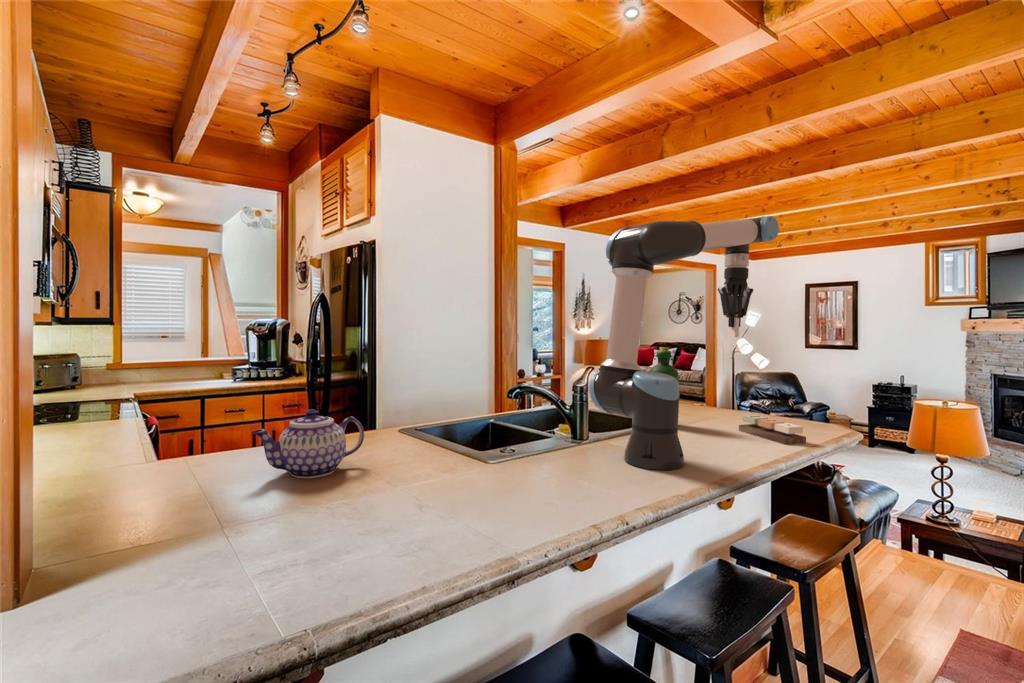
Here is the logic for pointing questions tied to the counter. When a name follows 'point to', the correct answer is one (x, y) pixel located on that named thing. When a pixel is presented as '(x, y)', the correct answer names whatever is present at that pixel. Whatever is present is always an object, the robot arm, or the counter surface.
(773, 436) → the button board
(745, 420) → the sage tile
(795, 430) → the cream tile
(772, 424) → the terracotta tile
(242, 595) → the counter surface
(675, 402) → the robot arm
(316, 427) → the teapot
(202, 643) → the counter surface
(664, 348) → the bottle
